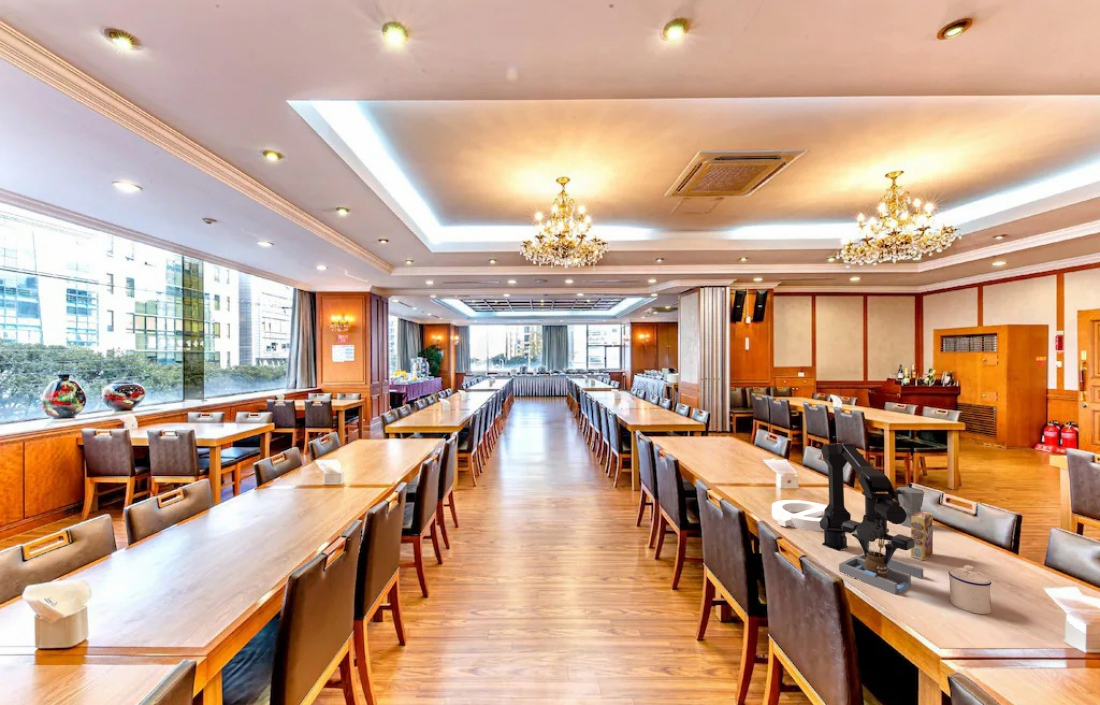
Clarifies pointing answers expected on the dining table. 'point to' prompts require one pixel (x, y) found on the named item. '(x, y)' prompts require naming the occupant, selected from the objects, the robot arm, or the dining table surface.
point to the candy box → (922, 535)
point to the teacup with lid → (970, 590)
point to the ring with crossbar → (799, 514)
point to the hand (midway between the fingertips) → (876, 560)
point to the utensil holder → (877, 562)
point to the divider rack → (857, 566)
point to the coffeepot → (909, 501)
